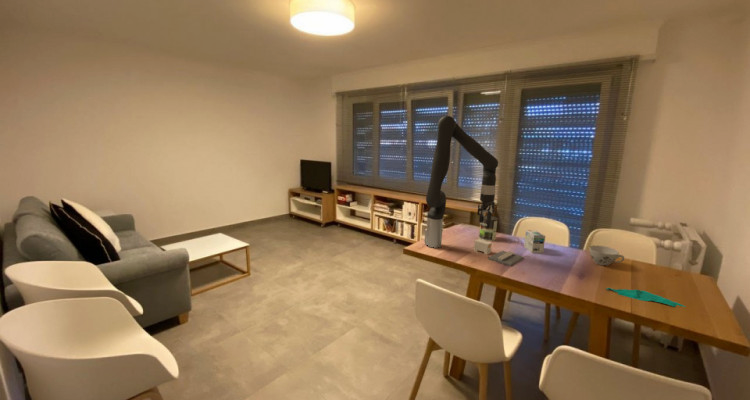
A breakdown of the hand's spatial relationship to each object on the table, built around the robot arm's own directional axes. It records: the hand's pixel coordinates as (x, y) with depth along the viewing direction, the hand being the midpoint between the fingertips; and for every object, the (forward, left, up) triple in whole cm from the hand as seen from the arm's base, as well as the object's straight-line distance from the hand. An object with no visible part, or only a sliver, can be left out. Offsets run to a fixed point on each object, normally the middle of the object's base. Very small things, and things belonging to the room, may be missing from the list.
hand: (485, 221), depth 175 cm
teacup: (+51, +34, -18) cm, 64 cm away
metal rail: (+14, 0, -18) cm, 23 cm away
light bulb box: (+18, +26, -18) cm, 36 cm away
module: (0, 0, -18) cm, 18 cm away
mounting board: (+14, 0, -18) cm, 23 cm away
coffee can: (-10, +24, -18) cm, 32 cm away
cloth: (+71, +6, -19) cm, 74 cm away
